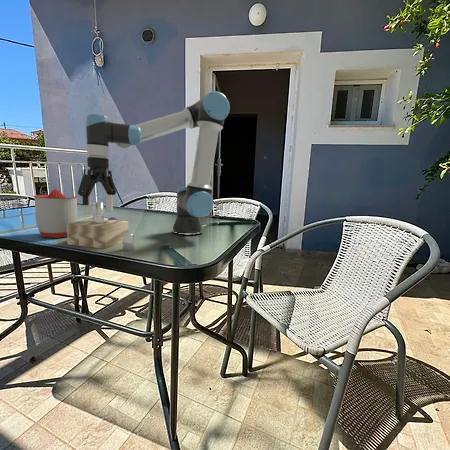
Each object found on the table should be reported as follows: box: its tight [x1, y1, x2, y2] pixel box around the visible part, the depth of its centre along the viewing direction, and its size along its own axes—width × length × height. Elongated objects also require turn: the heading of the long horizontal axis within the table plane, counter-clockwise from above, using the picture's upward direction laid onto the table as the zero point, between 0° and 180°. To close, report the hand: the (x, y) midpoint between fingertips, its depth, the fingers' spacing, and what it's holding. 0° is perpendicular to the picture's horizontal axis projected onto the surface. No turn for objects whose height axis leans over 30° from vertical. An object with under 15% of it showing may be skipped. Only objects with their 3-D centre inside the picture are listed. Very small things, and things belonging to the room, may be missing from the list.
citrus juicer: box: [33, 188, 78, 239], centre depth 114 cm, size 16×17×20 cm
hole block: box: [66, 218, 129, 250], centre depth 108 cm, size 16×16×8 cm
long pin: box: [91, 201, 105, 224], centre depth 107 cm, size 4×4×16 cm
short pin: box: [121, 232, 135, 252], centre depth 99 cm, size 4×4×6 cm
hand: (99, 212), depth 106 cm, fingers open, 13 cm apart
